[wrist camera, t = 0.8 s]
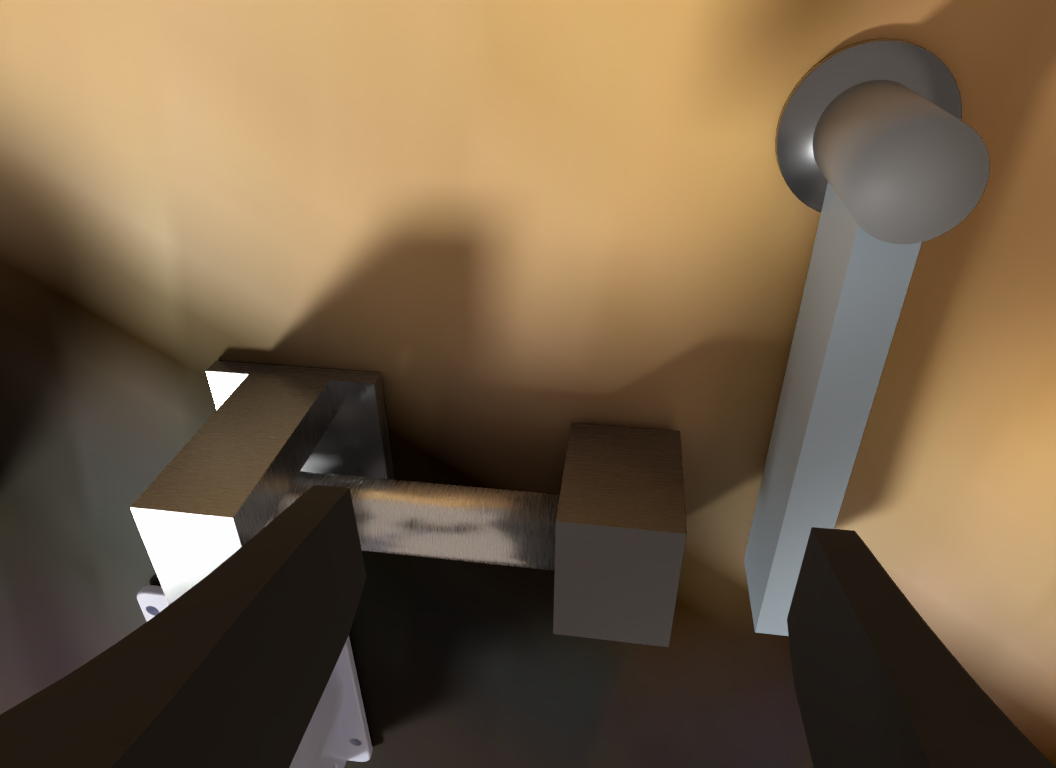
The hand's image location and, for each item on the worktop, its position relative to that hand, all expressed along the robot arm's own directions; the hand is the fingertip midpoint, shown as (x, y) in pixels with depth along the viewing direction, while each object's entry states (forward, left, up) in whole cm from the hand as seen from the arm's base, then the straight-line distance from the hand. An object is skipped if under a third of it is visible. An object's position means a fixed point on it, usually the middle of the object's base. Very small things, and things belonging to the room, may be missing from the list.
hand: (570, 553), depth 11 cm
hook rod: (-5, +5, -8) cm, 11 cm away
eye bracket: (-5, +9, -8) cm, 13 cm away
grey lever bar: (-1, -5, -8) cm, 10 cm away
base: (+5, -5, -8) cm, 11 cm away
